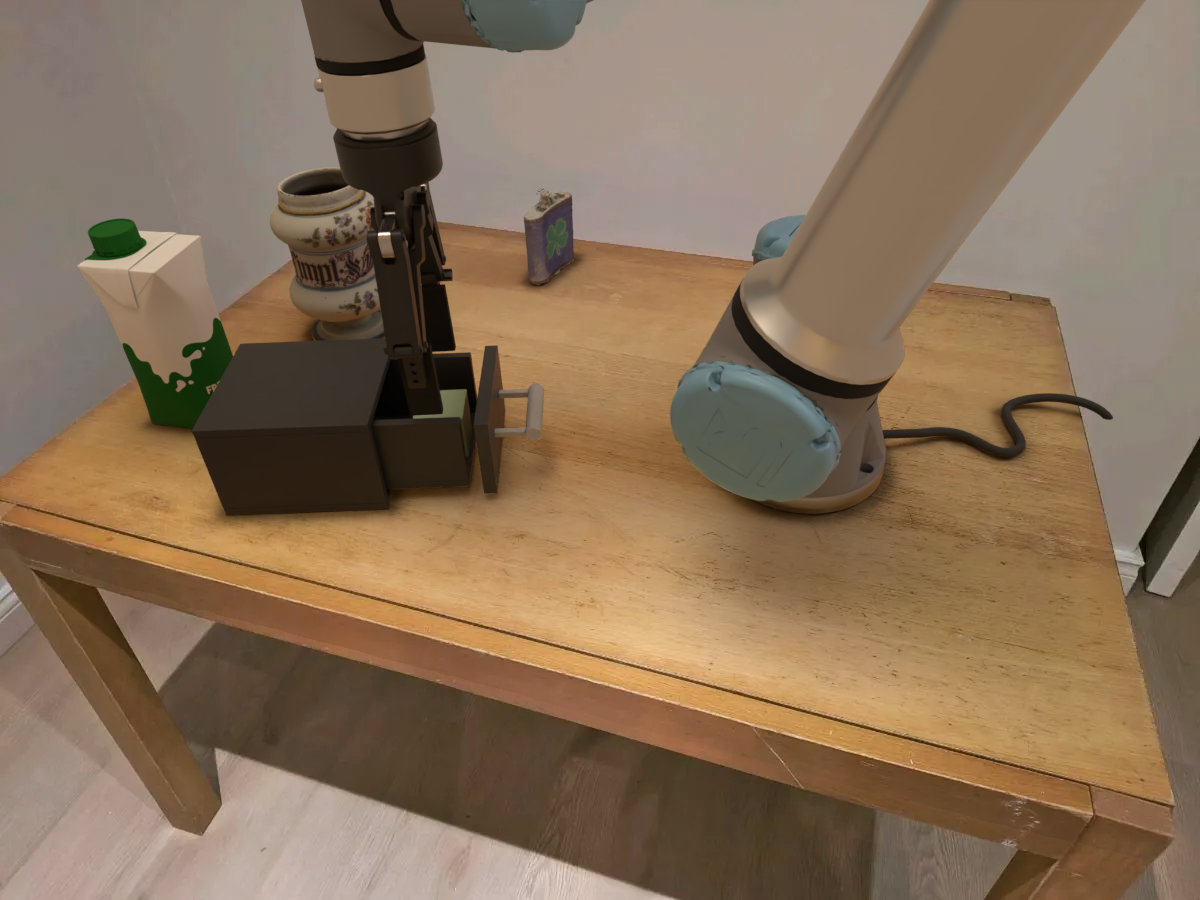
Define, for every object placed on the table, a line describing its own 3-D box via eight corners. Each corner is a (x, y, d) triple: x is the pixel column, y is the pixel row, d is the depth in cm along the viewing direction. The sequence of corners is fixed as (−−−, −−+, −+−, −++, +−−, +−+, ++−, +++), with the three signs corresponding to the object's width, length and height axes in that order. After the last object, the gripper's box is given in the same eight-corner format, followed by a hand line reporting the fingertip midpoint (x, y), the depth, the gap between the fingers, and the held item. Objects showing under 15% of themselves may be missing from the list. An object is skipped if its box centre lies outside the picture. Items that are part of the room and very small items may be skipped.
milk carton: (187, 380, 95) (118, 206, 82) (262, 388, 93) (204, 211, 81) (138, 428, 88) (55, 247, 76) (219, 438, 87) (148, 254, 74)
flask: (541, 287, 109) (534, 206, 102) (521, 282, 110) (514, 201, 104) (579, 257, 115) (575, 178, 108) (560, 253, 116) (555, 175, 110)
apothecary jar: (341, 296, 109) (306, 154, 97) (424, 312, 105) (398, 166, 94) (280, 346, 100) (234, 195, 89) (369, 364, 96) (333, 210, 85)
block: (472, 427, 84) (466, 388, 81) (468, 456, 80) (462, 417, 77) (425, 429, 84) (418, 391, 81) (420, 459, 80) (412, 420, 77)
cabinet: (410, 418, 88) (394, 337, 82) (388, 509, 78) (367, 424, 72) (267, 423, 88) (240, 343, 82) (225, 515, 78) (191, 431, 72)
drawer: (547, 409, 87) (542, 343, 83) (544, 491, 78) (538, 422, 73) (371, 416, 87) (355, 350, 83) (346, 499, 78) (326, 430, 73)
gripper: (361, 81, 72) (410, 318, 86) (294, 184, 55) (369, 459, 69) (451, 76, 72) (486, 315, 86) (413, 177, 55) (464, 454, 69)
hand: (434, 379), depth 77 cm, fingers open, 9 cm apart
